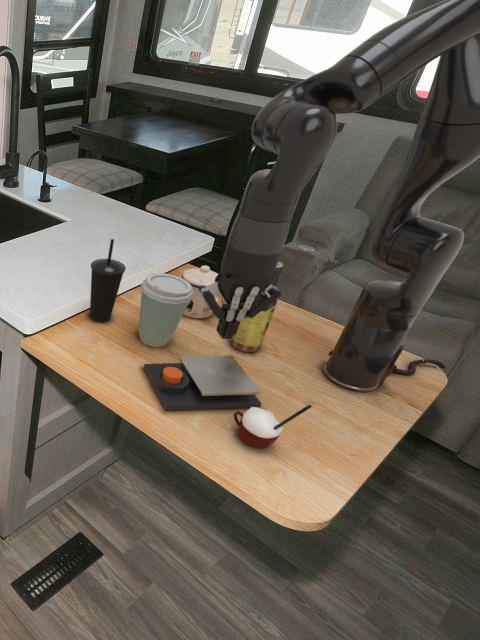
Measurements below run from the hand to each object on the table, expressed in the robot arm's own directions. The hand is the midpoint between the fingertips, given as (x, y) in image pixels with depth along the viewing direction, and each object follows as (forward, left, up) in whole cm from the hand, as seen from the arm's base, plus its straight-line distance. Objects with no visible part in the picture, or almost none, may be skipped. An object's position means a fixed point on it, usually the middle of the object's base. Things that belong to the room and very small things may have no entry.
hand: (224, 336), depth 89 cm
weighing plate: (-5, -6, -13) cm, 15 cm away
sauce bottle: (-18, -20, -17) cm, 31 cm away
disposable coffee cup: (+1, -23, -17) cm, 28 cm away
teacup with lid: (-13, -34, -17) cm, 40 cm away
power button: (+4, -6, -14) cm, 15 cm away
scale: (-2, -6, -16) cm, 17 cm away
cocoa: (-6, +9, -17) cm, 20 cm away
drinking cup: (+11, -33, -17) cm, 38 cm away
